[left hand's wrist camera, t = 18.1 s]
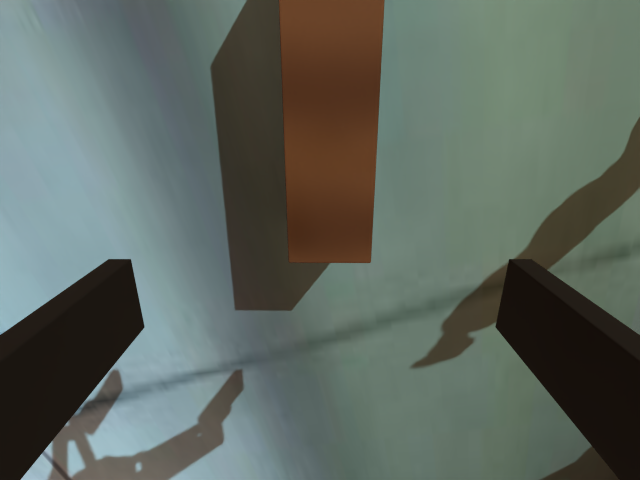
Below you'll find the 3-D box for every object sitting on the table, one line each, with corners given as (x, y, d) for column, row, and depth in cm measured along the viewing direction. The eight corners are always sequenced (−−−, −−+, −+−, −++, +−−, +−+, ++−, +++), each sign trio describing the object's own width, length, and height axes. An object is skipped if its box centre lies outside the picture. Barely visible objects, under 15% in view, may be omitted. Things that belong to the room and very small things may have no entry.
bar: (360, 226, 33) (371, 263, 25) (297, 226, 33) (288, 263, 25) (372, -81, 25) (393, -167, 17) (289, -80, 25) (272, -165, 17)
